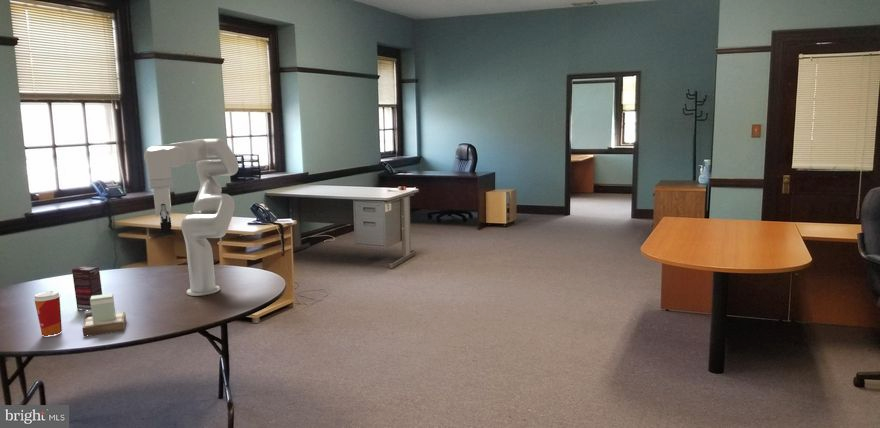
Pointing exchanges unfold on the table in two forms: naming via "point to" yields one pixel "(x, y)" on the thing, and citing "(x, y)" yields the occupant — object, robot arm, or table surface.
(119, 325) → the wooden tray
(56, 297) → the paper cup
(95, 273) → the supplement box
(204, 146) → the robot arm
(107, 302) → the carton
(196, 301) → the table surface
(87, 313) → the gray box
